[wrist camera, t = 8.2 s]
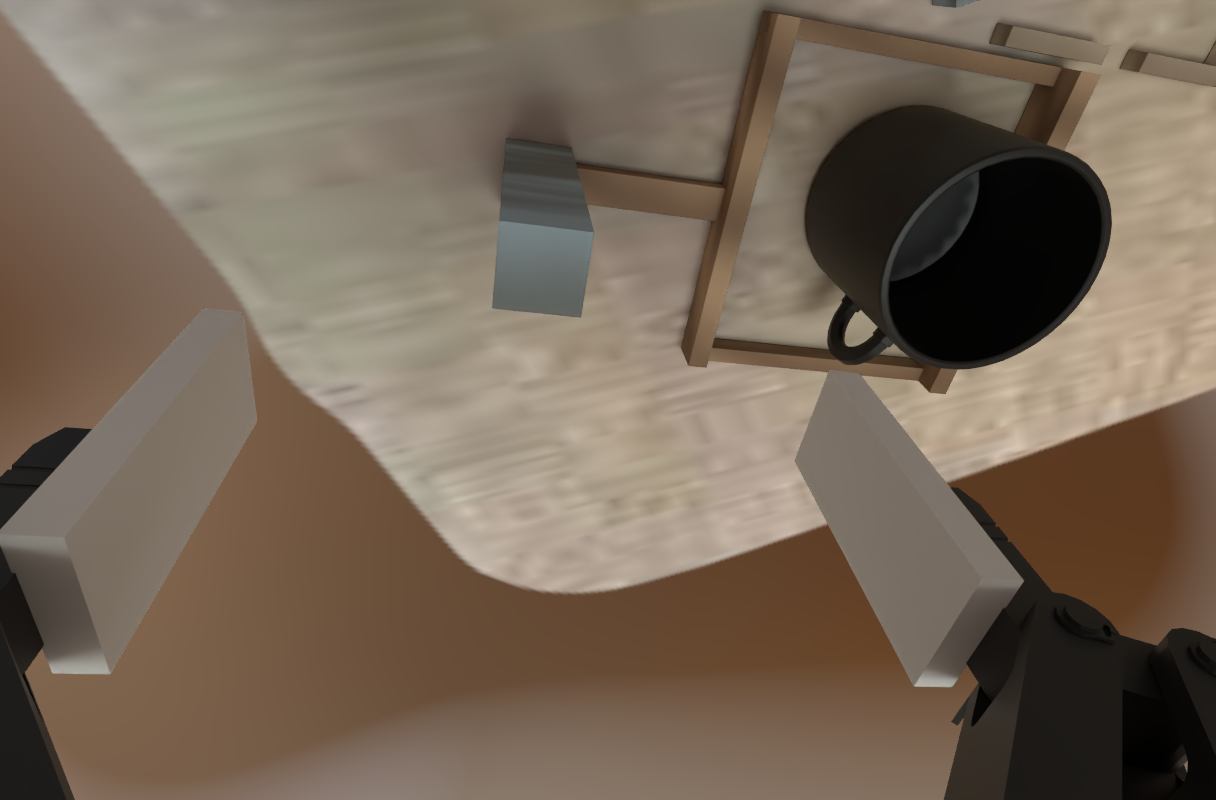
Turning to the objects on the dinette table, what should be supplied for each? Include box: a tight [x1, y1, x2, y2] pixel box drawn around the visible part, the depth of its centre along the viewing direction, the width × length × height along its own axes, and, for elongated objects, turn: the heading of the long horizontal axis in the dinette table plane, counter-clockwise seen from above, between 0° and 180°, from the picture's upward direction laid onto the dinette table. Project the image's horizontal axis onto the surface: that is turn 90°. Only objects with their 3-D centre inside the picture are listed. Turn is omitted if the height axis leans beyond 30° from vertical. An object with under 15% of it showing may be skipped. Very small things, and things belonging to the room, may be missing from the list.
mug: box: [806, 106, 1112, 369], centre depth 32 cm, size 9×12×9 cm
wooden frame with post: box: [492, 11, 1101, 394], centre depth 30 cm, size 17×26×12 cm, turn 81°
